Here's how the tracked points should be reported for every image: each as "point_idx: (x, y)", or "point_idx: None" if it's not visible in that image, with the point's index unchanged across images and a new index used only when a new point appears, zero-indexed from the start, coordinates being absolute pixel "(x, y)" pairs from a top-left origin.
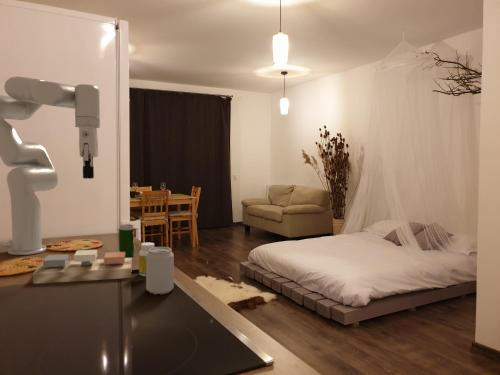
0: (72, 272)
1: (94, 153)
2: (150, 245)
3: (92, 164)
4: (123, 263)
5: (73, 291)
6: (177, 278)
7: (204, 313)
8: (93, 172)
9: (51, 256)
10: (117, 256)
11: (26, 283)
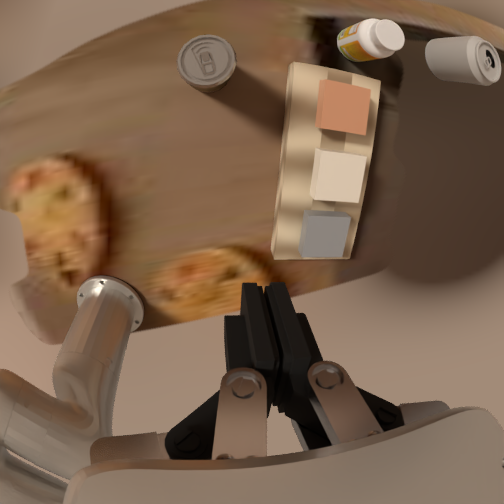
0: (363, 194)
1: (500, 425)
2: (403, 34)
3: (265, 386)
4: None
5: (402, 184)
6: (391, 9)
7: None
8: (264, 312)
9: (315, 247)
10: (364, 104)
11: (335, 259)
